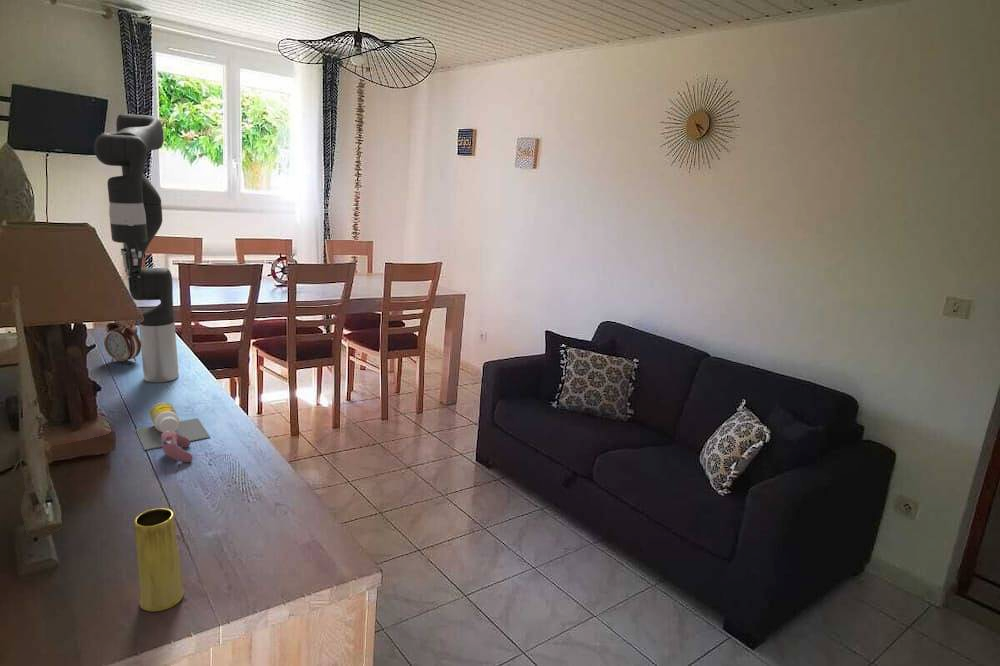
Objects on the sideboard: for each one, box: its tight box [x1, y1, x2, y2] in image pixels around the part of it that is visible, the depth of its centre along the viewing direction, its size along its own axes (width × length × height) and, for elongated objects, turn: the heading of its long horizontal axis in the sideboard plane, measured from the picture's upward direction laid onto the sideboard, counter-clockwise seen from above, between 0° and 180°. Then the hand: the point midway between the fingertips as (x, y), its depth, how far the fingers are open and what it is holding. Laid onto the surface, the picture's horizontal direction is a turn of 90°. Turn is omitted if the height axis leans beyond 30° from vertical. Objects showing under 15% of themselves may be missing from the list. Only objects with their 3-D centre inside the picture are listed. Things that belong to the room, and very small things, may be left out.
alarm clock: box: [103, 322, 141, 365], centre depth 198 cm, size 11×5×15 cm, turn 73°
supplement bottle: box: [149, 402, 180, 433], centre depth 153 cm, size 5×5×10 cm
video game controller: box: [161, 429, 194, 463], centre depth 141 cm, size 10×5×7 cm, turn 29°
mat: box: [135, 417, 211, 451], centre depth 152 cm, size 13×14×1 cm
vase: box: [133, 507, 185, 612], centre depth 95 cm, size 6×6×14 cm
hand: (135, 292), depth 155 cm, fingers closed
